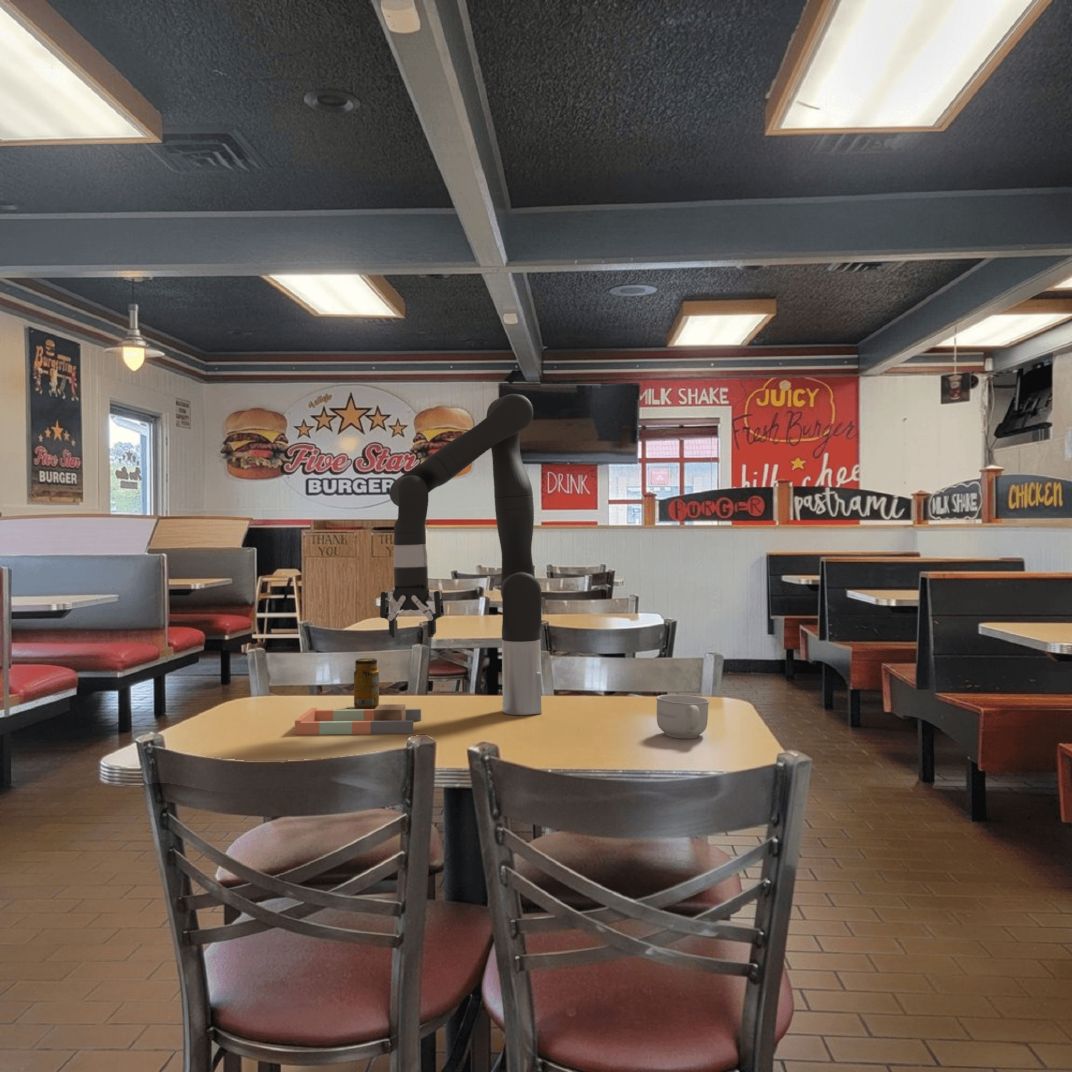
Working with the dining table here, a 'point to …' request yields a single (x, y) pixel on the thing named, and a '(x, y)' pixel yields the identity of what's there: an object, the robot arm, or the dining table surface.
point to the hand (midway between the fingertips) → (412, 637)
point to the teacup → (682, 715)
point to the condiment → (366, 684)
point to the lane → (352, 722)
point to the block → (390, 712)
